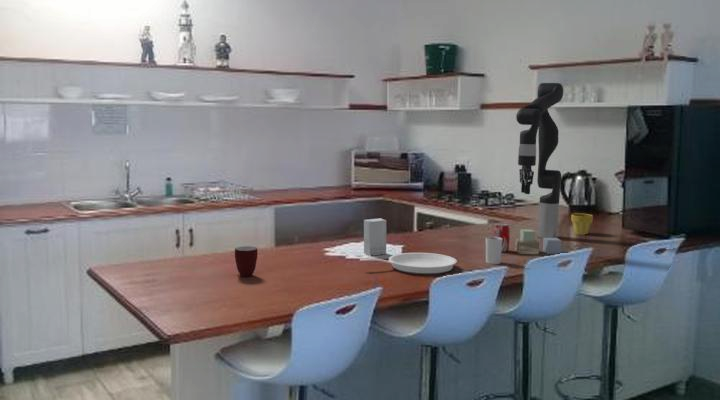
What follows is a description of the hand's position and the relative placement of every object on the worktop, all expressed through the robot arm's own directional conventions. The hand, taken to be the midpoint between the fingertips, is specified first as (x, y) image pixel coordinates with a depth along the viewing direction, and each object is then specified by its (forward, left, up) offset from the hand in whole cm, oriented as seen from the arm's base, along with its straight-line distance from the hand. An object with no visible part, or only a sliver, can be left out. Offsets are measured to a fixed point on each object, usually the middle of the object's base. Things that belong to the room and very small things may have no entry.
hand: (525, 193), depth 291 cm
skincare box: (+12, -67, -26) cm, 73 cm away
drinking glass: (+27, -20, -26) cm, 42 cm away
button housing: (+6, 0, -25) cm, 26 cm away
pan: (+38, -56, -26) cm, 72 cm away
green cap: (+6, 0, -21) cm, 22 cm away
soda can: (+4, -11, -26) cm, 28 cm away
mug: (+50, -117, -26) cm, 130 cm away
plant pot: (-41, +42, -26) cm, 64 cm away
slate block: (+6, +11, -25) cm, 28 cm away
